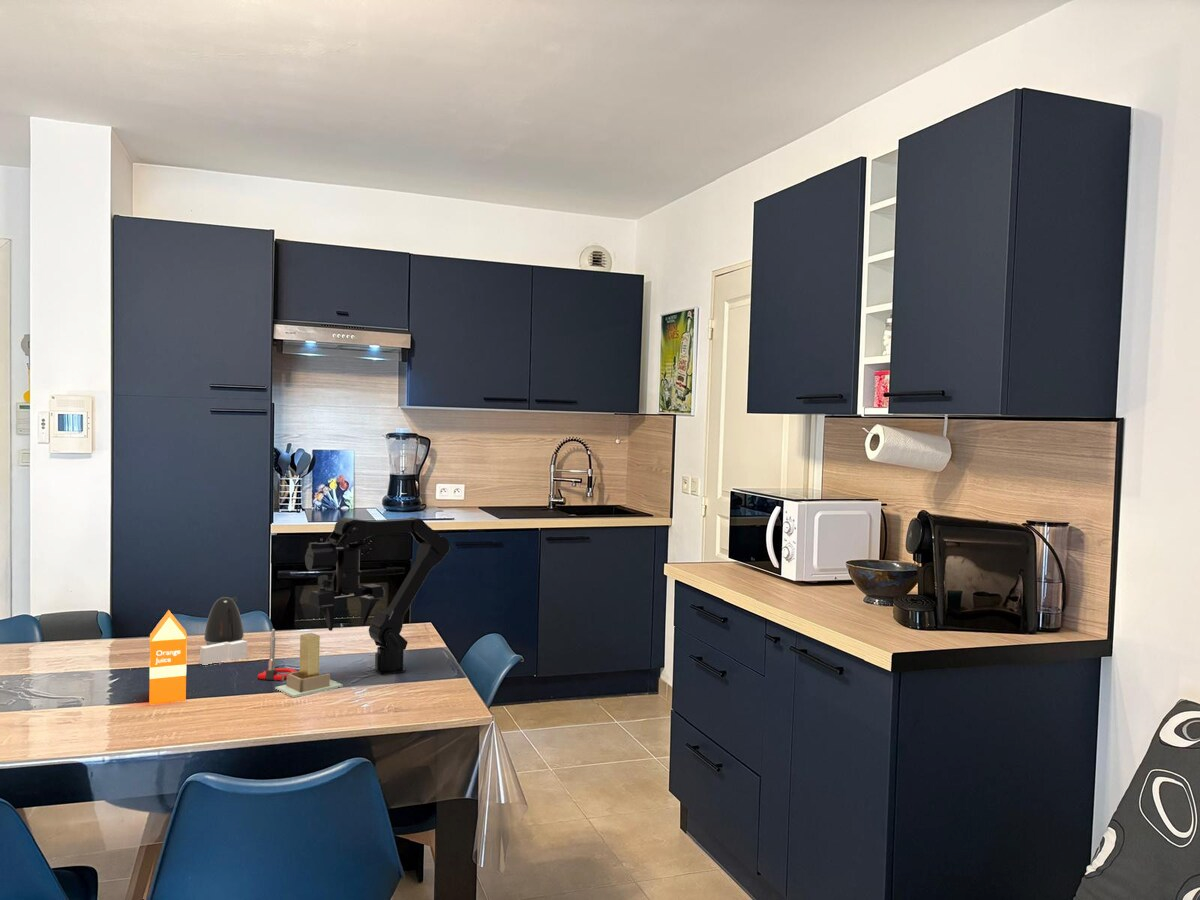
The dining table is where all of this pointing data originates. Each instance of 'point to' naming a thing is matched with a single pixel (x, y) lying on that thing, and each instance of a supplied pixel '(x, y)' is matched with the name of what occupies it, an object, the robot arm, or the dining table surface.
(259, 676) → the tow hook
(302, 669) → the gold square pillar
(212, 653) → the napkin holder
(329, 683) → the pale green slotted base
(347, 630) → the dining table surface
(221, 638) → the black rounded cone
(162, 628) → the orange juice
